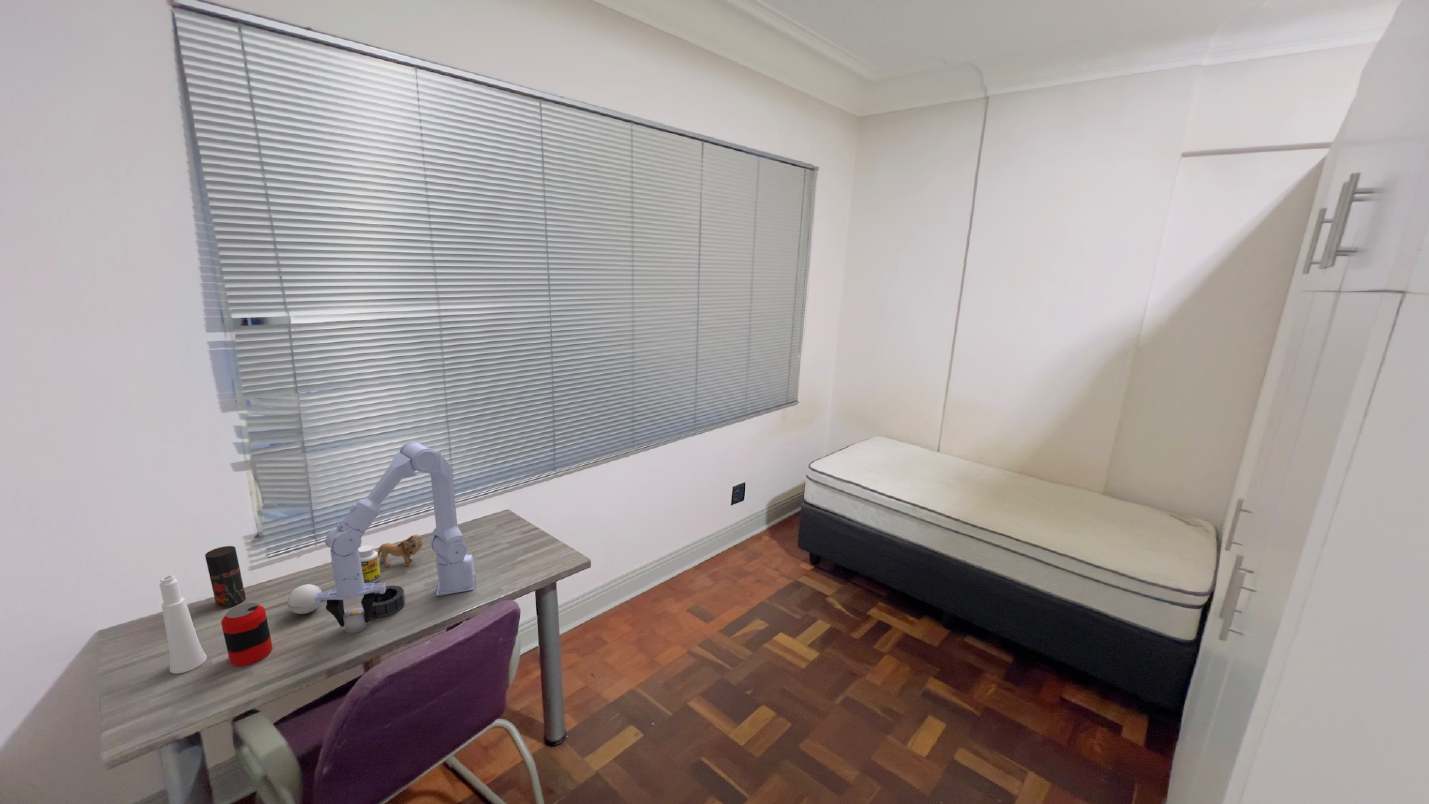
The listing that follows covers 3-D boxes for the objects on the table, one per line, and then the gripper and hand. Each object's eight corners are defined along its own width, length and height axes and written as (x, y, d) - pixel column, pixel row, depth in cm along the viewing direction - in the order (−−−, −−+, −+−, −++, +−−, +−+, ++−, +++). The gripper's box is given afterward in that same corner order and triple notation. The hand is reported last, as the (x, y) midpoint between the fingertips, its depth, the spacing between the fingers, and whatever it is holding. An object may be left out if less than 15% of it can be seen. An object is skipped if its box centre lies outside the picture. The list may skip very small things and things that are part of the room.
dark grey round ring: (407, 594, 148) (406, 583, 147) (401, 613, 140) (399, 601, 139) (370, 600, 145) (368, 589, 144) (361, 620, 137) (359, 608, 136)
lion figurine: (427, 556, 168) (424, 530, 166) (422, 565, 163) (418, 538, 161) (375, 561, 165) (371, 534, 163) (368, 570, 160) (364, 543, 158)
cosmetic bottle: (198, 670, 119) (176, 582, 114) (163, 676, 117) (140, 587, 112) (212, 652, 125) (192, 568, 119) (179, 658, 123) (158, 572, 117)
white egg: (321, 599, 145) (317, 575, 144) (327, 611, 140) (322, 586, 138) (274, 615, 138) (269, 589, 137) (278, 628, 133) (273, 602, 132)
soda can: (265, 662, 122) (255, 616, 119) (223, 670, 119) (212, 623, 116) (278, 641, 129) (269, 597, 126) (239, 648, 126) (229, 603, 123)
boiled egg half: (370, 619, 137) (367, 605, 136) (365, 631, 133) (363, 616, 132) (348, 623, 136) (345, 608, 135) (342, 635, 131) (340, 620, 130)
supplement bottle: (358, 587, 151) (353, 555, 148) (358, 578, 155) (353, 546, 153) (381, 581, 154) (377, 549, 151) (380, 573, 158) (376, 541, 156)
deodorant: (250, 599, 145) (240, 549, 141) (223, 611, 140) (212, 559, 136) (238, 593, 147) (228, 544, 144) (211, 605, 142) (200, 554, 138)
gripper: (385, 560, 137) (392, 607, 140) (318, 570, 132) (326, 618, 135) (379, 575, 130) (386, 623, 134) (308, 585, 126) (317, 635, 129)
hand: (355, 622), depth 134 cm, fingers closed on boiled egg half, 5 cm apart
